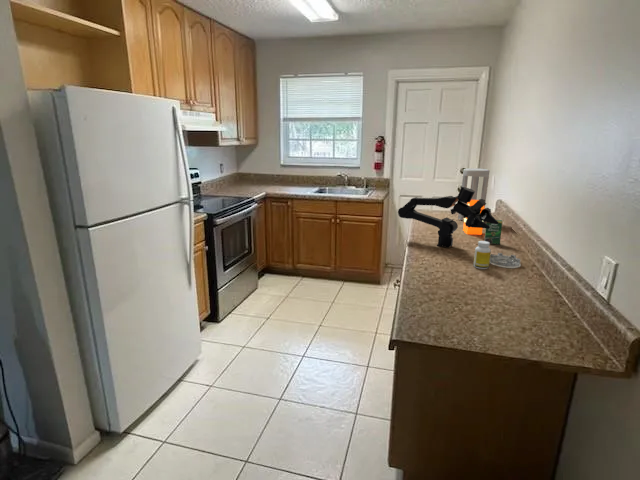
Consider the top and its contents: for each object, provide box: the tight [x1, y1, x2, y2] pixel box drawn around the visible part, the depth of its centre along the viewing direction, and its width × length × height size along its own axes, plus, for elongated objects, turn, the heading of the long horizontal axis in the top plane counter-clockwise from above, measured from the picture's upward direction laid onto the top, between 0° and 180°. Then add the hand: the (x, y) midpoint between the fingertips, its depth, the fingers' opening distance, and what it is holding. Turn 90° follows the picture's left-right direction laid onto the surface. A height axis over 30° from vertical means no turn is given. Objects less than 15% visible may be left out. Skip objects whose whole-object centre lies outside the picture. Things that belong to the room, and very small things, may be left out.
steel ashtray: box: [489, 252, 522, 269], centre depth 179 cm, size 14×14×3 cm
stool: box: [457, 167, 490, 221], centre depth 259 cm, size 16×16×35 cm
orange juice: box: [462, 199, 486, 236], centre depth 231 cm, size 8×9×20 cm
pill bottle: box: [472, 240, 492, 270], centre depth 172 cm, size 6×6×12 cm
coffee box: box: [483, 219, 503, 245], centre depth 210 cm, size 8×3×13 cm, turn 66°
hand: (493, 225), depth 186 cm, fingers open, 9 cm apart
